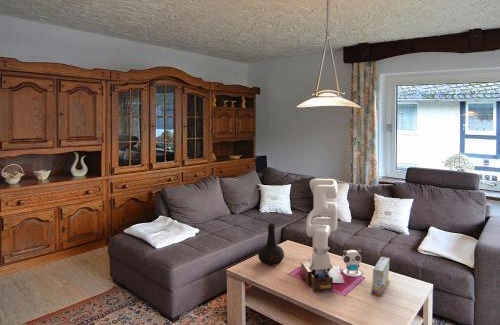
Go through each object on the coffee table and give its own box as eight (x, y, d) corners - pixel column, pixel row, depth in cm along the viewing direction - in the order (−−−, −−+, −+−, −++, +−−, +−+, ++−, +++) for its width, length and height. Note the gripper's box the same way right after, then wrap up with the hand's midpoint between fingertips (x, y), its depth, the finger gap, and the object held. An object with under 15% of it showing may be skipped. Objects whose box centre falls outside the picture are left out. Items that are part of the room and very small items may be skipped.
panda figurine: (344, 276, 220) (344, 254, 218) (340, 268, 231) (340, 247, 229) (363, 276, 220) (364, 253, 218) (358, 268, 231) (358, 247, 229)
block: (323, 277, 207) (323, 270, 206) (325, 281, 203) (325, 274, 202) (315, 278, 206) (315, 271, 206) (318, 282, 202) (318, 274, 201)
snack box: (381, 296, 196) (382, 271, 194) (371, 294, 199) (372, 269, 197) (389, 281, 214) (389, 257, 211) (379, 278, 216) (380, 255, 214)
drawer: (335, 294, 197) (335, 281, 196) (316, 296, 196) (316, 283, 194) (324, 279, 215) (324, 267, 214) (306, 281, 214) (306, 269, 212)
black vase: (253, 263, 242) (252, 225, 238) (269, 255, 255) (268, 218, 251) (273, 271, 230) (272, 230, 226) (289, 262, 243) (289, 223, 239)
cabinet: (328, 285, 210) (328, 270, 209) (308, 287, 208) (308, 271, 207) (320, 274, 224) (320, 260, 223) (301, 275, 223) (301, 261, 221)
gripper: (332, 246, 207) (332, 275, 209) (304, 248, 205) (304, 277, 207) (337, 251, 200) (336, 281, 202) (308, 253, 197) (308, 284, 200)
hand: (320, 279), depth 205 cm, fingers closed on block, 4 cm apart
